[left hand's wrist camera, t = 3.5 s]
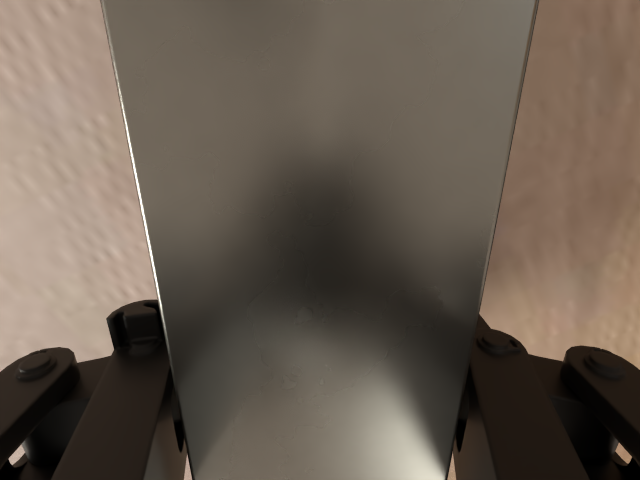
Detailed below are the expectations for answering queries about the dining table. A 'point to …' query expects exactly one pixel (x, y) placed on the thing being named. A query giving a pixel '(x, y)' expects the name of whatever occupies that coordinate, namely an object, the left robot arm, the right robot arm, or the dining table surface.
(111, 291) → the dining table surface
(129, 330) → the left robot arm
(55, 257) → the dining table surface
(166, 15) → the bar
